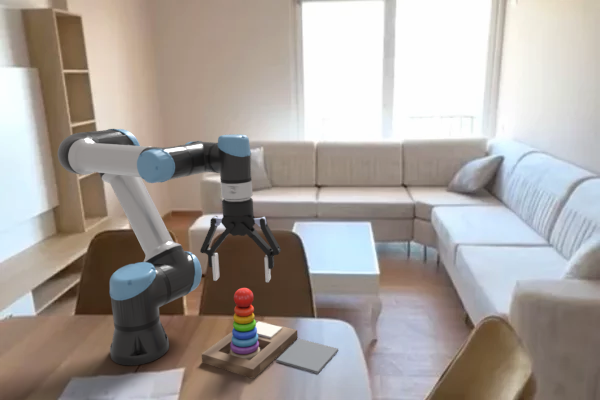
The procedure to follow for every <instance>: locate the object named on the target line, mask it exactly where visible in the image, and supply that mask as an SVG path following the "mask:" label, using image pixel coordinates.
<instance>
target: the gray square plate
mask: <svg viewBox="0 0 600 400" xmlns="http://www.w3.org/2000/svg"><path fill="white" fill-rule="evenodd" d="M338 352H339V348H337V347H334V346H328V345H325V344H321V343H318V342H314V341H309V340H306V339H301V338H297V339H296V340H295V341H294V342H293V343H292V344H291V345H290V346H289V347H287V348H286V349H285V350H284V351H283V352H282V353H281V354H280V355H279V356H278V357H277V358H275V360H276V362H277V363H280V364H283V365H288V366H290V367H294V368H297V369H301V370H305V371H307V372H308V371H309V372H312V373H315V374H319V373H320V372H321V370H323V369H324V367H325V366H326V365H327V364H328V363H329V362H330V361H331V360H332V358H333V357H334V356H335V355H336V354H337V353H338Z"/></svg>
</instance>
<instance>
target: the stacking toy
mask: <svg viewBox="0 0 600 400" xmlns="http://www.w3.org/2000/svg"><path fill="white" fill-rule="evenodd" d="M233 301H234V303H235V305H236V306H235V307H234V310H233V311H234V314H233V323H232V326H233V327H232V328H233V329H232V331H231V332H232V334H233V336H232V342H231V344H230V348H231V350H230V351H229V354H230V355H233V356H237V357H240V358H243V359H247V360H251V359H252V358H253V357H254V356H256V355H257V354H258V353H259V352H260V351H261V348H260V347H259V342H258V334H257V328H256V327H255V326H256V321H255V320H256V319H255V316H256V315H255V313H254V311H255V308H254V306H253V305H252V304H253V301H254V293H253V291H252V290H251V289H250V288H247V287H241V288H239V289H237V290H236V291H235V292H234V294H233Z"/></svg>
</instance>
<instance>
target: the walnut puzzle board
mask: <svg viewBox="0 0 600 400" xmlns="http://www.w3.org/2000/svg"><path fill="white" fill-rule="evenodd" d="M254 320H255V321H256V326H255V327H256V328H257V334H258V342H259V348H260V352H259V353H258V354H257V355H256V356H254V357H253V358H252V359H251V360H247V359H243V358H240V357H237V356H233V355H230V350H231V348H230V344H231V342H232V336H233V334H232V331H231V332H229V333H228V334H226V335H225V336H223V337H222V338H221V339H220V340H218V341H217V342H215V343H214V344H212V345H211V346H210V347H209V348H207V349H206V350H205V351H203V352H202V353H201V363H203V364H206V365H210V366H211V367H215V368H218V369H222V370H225V371H227V372H228V371H229V372H231V373H234V374H237V375H240V376H244V377H248V378H251V379H255V378H256V377H257V376H258V375H259V374H260V373H262V372H263V370H265V368H267V367H268V366H270V364H271V363H272V362H273V361H275V360H276V359H277V358H278V357H280V356H281V355H282V354H283V353H284V352H285V351H286V350H287V349H288V348H289V347H290V346H291V345H293V344H294V343H295V342H296V341H297V340H298V339H299V338H298V329H295V328H291V327H287V326H282V325H278V324H274V323H270V322H267V321H263V320H257V319H254Z"/></svg>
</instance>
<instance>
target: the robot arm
mask: <svg viewBox="0 0 600 400" xmlns="http://www.w3.org/2000/svg"><path fill="white" fill-rule="evenodd" d="M251 154H252V151H251V145H250V138H249V137H248V135H246V134H241V133H239V134H235V133H234V134H233V133H232V134H231V133H230V134H222V135H219V136H218V138H217V142H210V141H202V140H196V141H188V142H186V143H185V144H182V145H181V144H180V145H175V146H165V147H157V146H146V145H144V146H143V145H141V144H140V142H139V141H138V139H137V137H136V136H135V135H134V133H132V132H130V131H129V130H127V129H123V128H108V129H105V130H95V131H94V130H93V131H83V132H76V133H73V134H70V135H68V136H67V137H65V138H64V139H63V140H62V141H61V142H60V144H59V146H58V149H57V159H58V162H59V163H60V166H61V167H62V168H63V169H65V171H67V172H69V173H71V174H75V175H85V176H87V175H88V176H89V175H92V174H93V173H98V174H99V176H100V178H101V180H102V181H103V182H104V183H105V182H106V183H109V184H110V186H111V189H112V190H113V192H114V194H115V196H116V198H117V200H118V202H119V205H120V207H121V208H122V210H123V212H124V214H125V217H126V219H127V220H128V223H129V224H130V227H131V229H132V231H133V233H134V234H135V236H136V238H137V240H138V242H139V244H140V247H141V249H142V251H143V252H144V255H145V258H144V260H143V261H142V262H141V261H140V262H139V261H138V262H135V263H129V264H126V265H124V266H121V267H119V268H118V269H116V271H115V272H113V273H112V275H111V276H110V278H109V297H110V301H111V303H110V304H111V311H112V318H113V325H114V329H113V336H112V341H111V344H110V347H109V353H110V359H111V360H112V361H113V362H114V363H116V364H118V365H122V366H139V365H144V364H149V363H151V362H153V361H156V360H158V359H159V358H161V357H162V356H164V355H165V354H166V353H167V352H168V350H169V348H170V342H169V337H168V335H167V332H166V330H165V328H164V325H163V324H162V322H161V319H160V307H162V306H164V305H167V304H168V303H171V302H173V301H175V300H178V299H179V298H182V297H184V296H187V295H188V294H190V293H191V292H192V291H195V290H196V289H197V288H198V287H199V285H200V284H201V281H202V276H203V275H202V273H203V272H202V266H201V262H200V261H199V258H198V257H197V256H196V255H195V254H193V252H191V251H186V250H185V249H184V248H183V245H182V244H180V243H177V242H176V241H174V240H173V238H172V236H171V233H170V232H169V230H168V229H167V227H166V224H165V222H164V220H163V219H162V216H161V214H160V212H159V210H158V208H157V206H156V204H155V202H154V201H153V198H152V196H151V195H150V193H149V191H148V188H147V186H146V184H145V183H144V181H145V182H146V183H149V184H154V183H165V182H167V181H171V180H175V179H179V178H184V177H189V176H194V175H198V174H202V173H214V174H219V175H220V176H219V177H220V189H221V190H220V191H221V198H222V201H221V205H222V217H219V216H218V215H214V216H212V217H211V219H210V225H209V229H208V232H207V233H206V235H205V237H204V241H203V242H202V245H201V248H200V249H199V251H200V253H201V254H206V255H207V262H208V267H209V268H212V278H213V279H212V280H213V281H215V282H217V281H218V279H219V278H220V264H219V263H220V261H219V253H218V252H216V250H218V248H219V247H220V246H221V244H223V242H224V241H225V239H227V237H228V236H229V235H230V236H231V235H232V237H233V236H234V237H235V236H241V237H244V236H246V235H247V236H248V238H250V239H251V240H252V241H253V242H254V243H255V244H256V245H257V246H258V247H259V248H260V249H261V251H262V252H263V253H264V254H265V256H264V257H263V258H264V274H265V275H264V276H265V283H270V280H271V279H272V275H271V271H272V270H273V269H274V267H275V256H277V255H279V254H280V252H281V251H282V249H281V246H280V244H279V243H278V241H277V239H276V238H275V236H274V233H273V232H272V230H271V228H270V226H269V224H268V219H267V216H265V215H264V216H263V215H262V216H261V217H257V218H256V217H255V216H254V200H253V198H252V196H253V182H252V166H251V164H252V159H251V158H252V157H251V156H252V155H251ZM221 224H222V226H223V227H224V228H225V229H224V230H223V232H222V233H221V235H220V236H219V237H218V238H217V239H216V241H215V242H214V243H213V245H212V246H211V248H210V245H211V243H212V241H213V238H214V236H215V233H216V231H217V229H218V226H220V225H221ZM255 224H256V225H257V226H258V227H259V228H260V230H261V232H262V233H263V235H264V237H265V239H266V240H267V241H265V239H264V238H263V237H262V236H261V234H259V232H258V231H257V229H256V228H255Z"/></svg>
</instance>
